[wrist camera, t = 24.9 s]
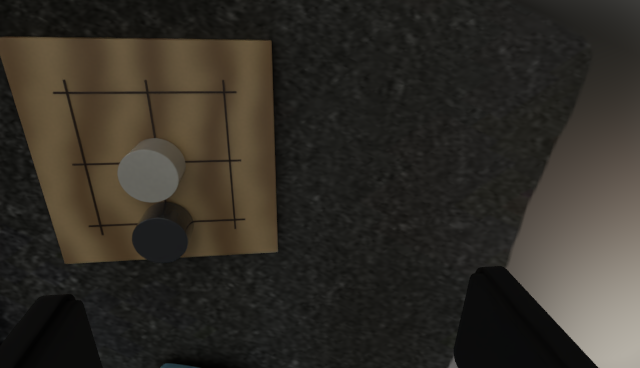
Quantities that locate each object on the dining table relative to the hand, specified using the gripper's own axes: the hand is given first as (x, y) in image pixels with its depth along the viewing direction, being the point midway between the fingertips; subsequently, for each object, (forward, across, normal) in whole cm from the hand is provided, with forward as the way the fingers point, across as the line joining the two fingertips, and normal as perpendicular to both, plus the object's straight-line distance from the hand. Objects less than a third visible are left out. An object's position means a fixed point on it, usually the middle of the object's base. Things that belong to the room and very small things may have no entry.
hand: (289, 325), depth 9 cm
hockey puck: (+25, +10, +11) cm, 29 cm away
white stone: (+25, +10, +5) cm, 27 cm away
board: (+26, +10, +5) cm, 29 cm away
